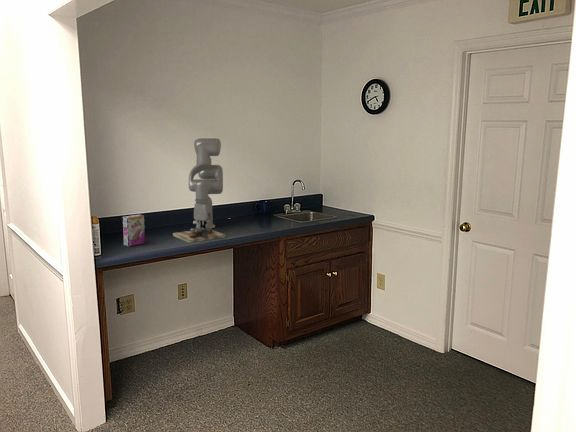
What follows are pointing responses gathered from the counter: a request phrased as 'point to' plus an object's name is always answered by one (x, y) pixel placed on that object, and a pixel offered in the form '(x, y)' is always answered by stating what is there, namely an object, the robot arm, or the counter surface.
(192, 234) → the lever
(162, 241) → the counter surface
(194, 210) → the robot arm
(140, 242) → the candy bar box
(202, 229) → the keeper
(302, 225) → the counter surface
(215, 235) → the board
